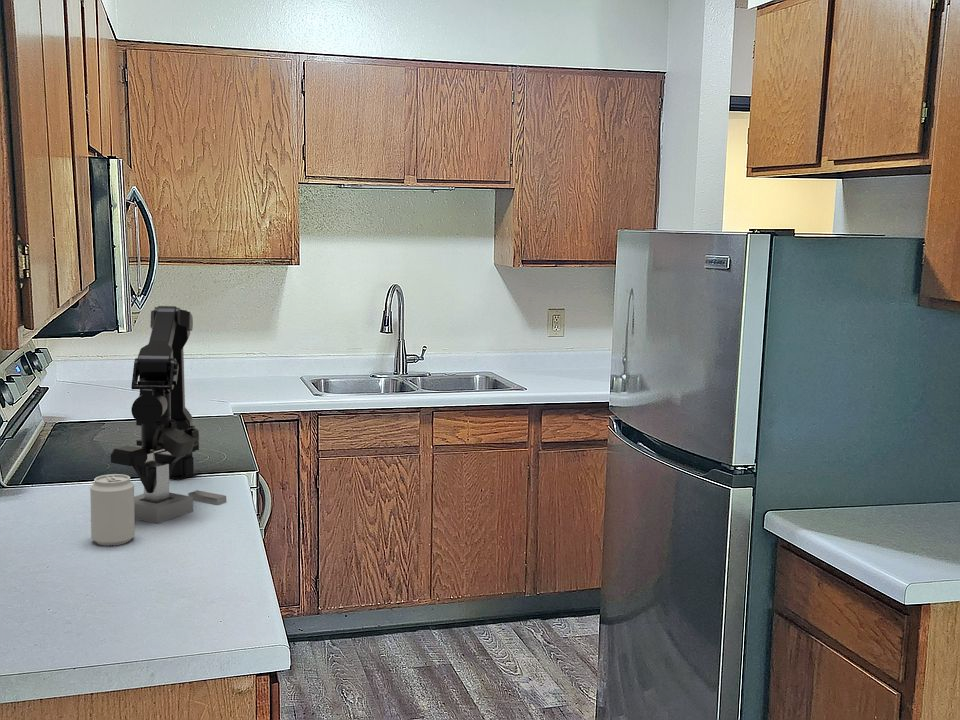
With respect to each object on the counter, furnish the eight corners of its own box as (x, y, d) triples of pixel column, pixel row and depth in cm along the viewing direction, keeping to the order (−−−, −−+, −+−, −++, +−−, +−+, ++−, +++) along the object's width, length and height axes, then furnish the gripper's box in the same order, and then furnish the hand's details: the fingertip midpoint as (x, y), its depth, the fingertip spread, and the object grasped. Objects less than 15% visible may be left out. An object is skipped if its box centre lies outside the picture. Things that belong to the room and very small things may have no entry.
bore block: (119, 515, 193) (119, 500, 192) (156, 503, 202) (156, 490, 201) (157, 523, 188) (157, 508, 188) (193, 511, 197) (193, 496, 197)
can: (99, 549, 172) (98, 484, 171) (85, 538, 178) (84, 475, 176) (140, 542, 177) (140, 478, 175) (126, 532, 183) (125, 470, 181)
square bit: (144, 503, 194) (143, 464, 193) (156, 499, 197) (156, 461, 196) (156, 506, 193) (156, 467, 192) (169, 502, 196) (168, 463, 195)
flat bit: (188, 501, 206) (188, 493, 206) (197, 498, 208) (197, 490, 208) (217, 507, 202) (217, 498, 202) (226, 503, 205) (226, 495, 205)
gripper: (151, 427, 181) (152, 507, 183) (218, 412, 197) (219, 486, 199) (108, 420, 186) (109, 499, 188) (177, 406, 202) (178, 479, 204)
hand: (156, 490), depth 195 cm, fingers closed on square bit, 3 cm apart
